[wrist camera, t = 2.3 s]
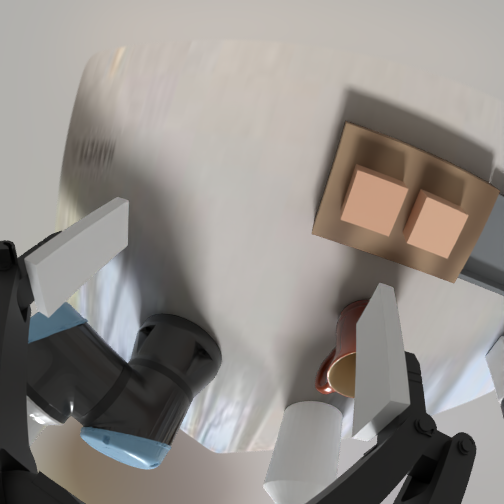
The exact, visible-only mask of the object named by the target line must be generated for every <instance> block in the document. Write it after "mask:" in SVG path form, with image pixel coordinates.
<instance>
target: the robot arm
mask: <svg viewBox="0 0 504 504" xmlns="http://www.w3.org/2000/svg"><path fill="white" fill-rule="evenodd" d="M128 212H129V200H126V199H123V198H120V197H116V198H114V199H113V200H111V201H109V202H108V203H106V204H105V205H103V206H101V207H100V208H98V209H96V210H95V211H93V212H92V213H90V214H88V215H87V216H85V217H84V218H82V219H81V220H79V221H78V222H76V223H74V224H73V225H71V226H70V227H68V228H67V229H65V230H64V231H59V232H56V233H54V234H51V235H50V236H48V237H47V238H45V239H44V240H43V241H41V242H39V243H38V245H35V246H34V247H32V248H31V249H30V250H28V251H27V252H25V253H24V254H23V255H21V256H20V257H18V258H17V254H16V250H15V245H14V243H13V242H11V241H5V240H4V241H0V504H85V503H84V502H82V501H81V500H79V499H78V498H77V497H75V496H74V495H72V494H71V493H70V492H68V491H67V490H66V489H64V488H63V487H61V486H60V485H58V484H57V483H55V482H54V481H53V480H51V479H49V478H48V477H47V476H46V475H44V474H43V473H42V472H40V471H39V473H38V472H37V467H36V463H35V460H34V457H33V455H32V453H31V450H30V446H31V444H32V443H33V442H34V441H35V439H36V438H37V437H38V436H39V435H40V433H41V432H42V431H43V429H44V428H45V427H46V426H47V425H63V424H64V423H65V421H66V420H67V419H68V418H69V417H70V416H72V417H74V418H75V419H76V420H77V421H79V422H80V423H81V424H82V425H83V427H82V428H81V433H80V435H81V438H82V439H83V440H84V441H86V442H87V443H88V444H89V445H90V446H92V447H93V448H95V449H96V450H98V451H99V452H101V453H103V454H105V455H107V456H109V457H111V458H113V459H115V460H117V461H119V462H122V463H125V464H127V465H130V466H134V467H137V468H142V469H153V468H156V467H158V466H159V465H160V464H161V462H162V461H163V459H164V457H165V456H166V454H167V452H168V451H169V450H170V449H171V445H172V442H173V440H174V438H175V436H176V434H177V432H178V430H179V428H180V426H181V423H182V421H183V419H184V417H185V415H186V413H187V411H188V409H189V406H190V404H191V402H192V400H193V398H194V397H195V396H196V395H197V394H198V393H199V392H200V391H201V390H203V389H204V388H205V387H206V386H207V385H208V384H209V383H210V382H211V381H212V380H213V379H214V378H215V376H216V375H217V372H218V370H219V368H220V366H221V361H222V359H221V353H220V350H219V348H218V346H217V345H216V343H215V342H214V340H213V339H212V338H211V337H210V336H209V335H208V334H207V333H206V332H205V331H204V330H202V329H201V328H200V327H198V326H197V325H195V324H194V323H192V322H190V321H188V320H186V319H183V318H181V317H178V316H174V315H169V314H158V315H154V316H151V317H149V318H148V319H147V320H146V321H145V322H144V324H143V325H142V326H141V327H140V329H139V331H138V333H137V336H136V340H135V344H134V348H133V352H132V356H131V359H130V361H129V362H128V363H127V362H126V361H125V360H124V359H123V358H122V357H120V356H119V355H118V354H117V353H116V352H115V351H114V350H113V349H112V348H111V347H110V346H109V345H108V344H107V343H106V342H105V341H104V340H103V339H102V338H101V337H100V336H99V335H98V333H97V332H96V331H95V330H94V329H93V328H92V327H91V326H90V325H89V324H88V323H87V322H88V320H87V319H84V318H83V317H82V316H81V315H80V314H79V313H78V312H77V311H76V310H75V309H74V308H73V307H72V306H71V305H70V304H69V303H67V302H66V301H67V300H68V299H69V298H70V297H71V296H72V295H73V294H74V293H75V292H76V291H77V290H78V289H79V288H80V287H81V286H83V285H84V284H85V283H86V282H87V281H88V280H89V279H90V278H91V277H92V276H94V275H95V274H96V273H97V272H98V271H99V270H100V269H101V268H102V267H104V266H105V265H106V264H107V263H108V262H109V261H110V260H111V259H113V258H114V257H115V256H116V255H117V254H118V253H120V252H121V251H122V250H123V249H124V248H125V247H127V246H128ZM33 301H35V304H36V307H37V310H38V311H39V312H37V313H36V314H35V315H34V316H32V317H31V318H30V316H31V308H30V304H31V303H32V302H33ZM376 435H378V436H377V444H376V445H375V446H373V447H372V448H371V449H370V450H368V451H367V452H366V453H364V456H363V457H362V458H361V459H360V460H358V461H357V462H356V463H355V464H354V465H353V466H352V467H351V468H349V469H348V470H347V471H346V472H345V473H344V474H342V475H341V476H340V477H339V478H338V479H336V480H335V481H334V482H333V483H331V484H330V485H329V486H328V487H326V488H325V489H324V490H323V491H321V492H320V493H319V494H317V495H316V496H315V497H313V498H312V499H311V500H309V501H308V502H307V503H305V504H380V503H381V502H382V501H383V500H384V499H385V498H386V497H387V496H388V494H390V492H391V491H392V490H393V489H394V488H395V487H396V486H397V485H398V483H399V482H400V481H401V480H402V479H403V478H404V476H405V475H406V474H407V475H408V476H407V478H406V480H405V482H404V484H403V486H402V488H401V490H400V492H399V494H398V495H397V497H396V499H395V501H394V503H393V504H461V502H462V499H463V496H464V493H465V490H466V487H467V484H468V481H469V477H470V474H471V471H472V467H473V463H474V459H475V456H476V445H475V442H474V440H473V439H472V437H471V436H469V435H468V434H466V433H464V432H461V433H458V434H456V435H455V436H453V437H452V438H451V437H449V436H447V435H445V434H443V433H441V432H439V431H438V430H437V427H436V424H435V421H434V420H433V418H432V417H431V416H430V415H428V414H427V413H426V408H425V399H424V391H423V384H422V377H421V370H420V364H419V362H418V360H417V358H416V356H415V355H414V354H413V353H409V352H405V351H404V345H403V338H402V332H401V325H400V319H399V314H398V308H397V303H396V297H395V292H394V287H391V286H388V285H385V284H382V283H379V284H378V286H377V288H376V290H375V292H374V294H373V296H372V297H371V299H370V301H369V303H368V305H367V306H366V308H365V310H364V312H363V314H362V315H361V317H360V319H359V320H358V322H357V324H356V377H355V399H354V415H353V429H352V438H354V439H359V440H365V441H370V440H372V439H373V438H374V437H375V436H376Z"/></svg>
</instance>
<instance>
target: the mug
mask: <svg viewBox="0 0 504 504" xmlns="http://www.w3.org/2000/svg"><path fill="white" fill-rule="evenodd" d="M369 301H370V300H359V301H356V302H353V303H351V304H350V305H348V306H347V307H346V308H345V309H344V310H343V311H342V313H341V315H340V318H339V320H338V322H337V328H336V333H337V334H336V347H335V348H334V349H333V350H332V351H331V353H330V354H329V355H328V356H327V357H326V358H325V360H324V361H323V362H322V364H321V366H320V367H319V370H318V372H317V375H316V378H315V388H316V390H317V391H319V392H320V393H322V394H330V393H333V392H338V393H339V394H341V395H343V396H346V397H350V398H355V377H356V324H357V322H358V320H359V319H360V317H361V315H362V314H363V312H364V310H365V308H366V306H367V305H368V303H369ZM326 379H327V381H328V382H327V383H326ZM325 383H326V384H325Z"/></svg>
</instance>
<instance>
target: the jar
mask: <svg viewBox="0 0 504 504" xmlns="http://www.w3.org/2000/svg"><path fill="white" fill-rule="evenodd" d="M485 359H486V362H487V364H488V368H489V371H490V374H491V377H492V380H493V383H494V387H495V390H496V394H497V397H498V401H499V403H500V404H501V409H502V413H503V417H504V336H501V337H500V338H499V339H498V341H497V342H496V343H495V345H494V346H493V347H492V349H491V350H490V351H489V353H488V354H487V355H486V356H485Z"/></svg>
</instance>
